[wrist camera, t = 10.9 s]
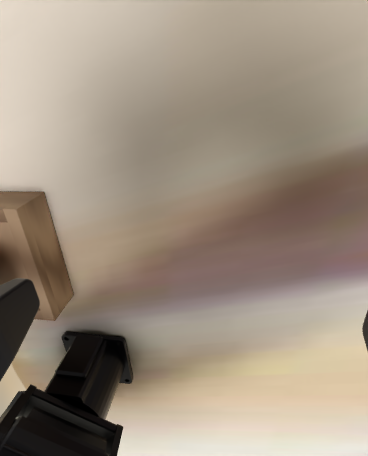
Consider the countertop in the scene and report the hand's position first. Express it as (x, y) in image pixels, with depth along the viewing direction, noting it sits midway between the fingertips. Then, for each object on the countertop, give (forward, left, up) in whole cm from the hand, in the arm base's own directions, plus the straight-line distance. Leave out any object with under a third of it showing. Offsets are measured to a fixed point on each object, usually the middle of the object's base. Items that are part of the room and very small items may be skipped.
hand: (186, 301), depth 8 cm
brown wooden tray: (-7, +18, -13) cm, 23 cm away
